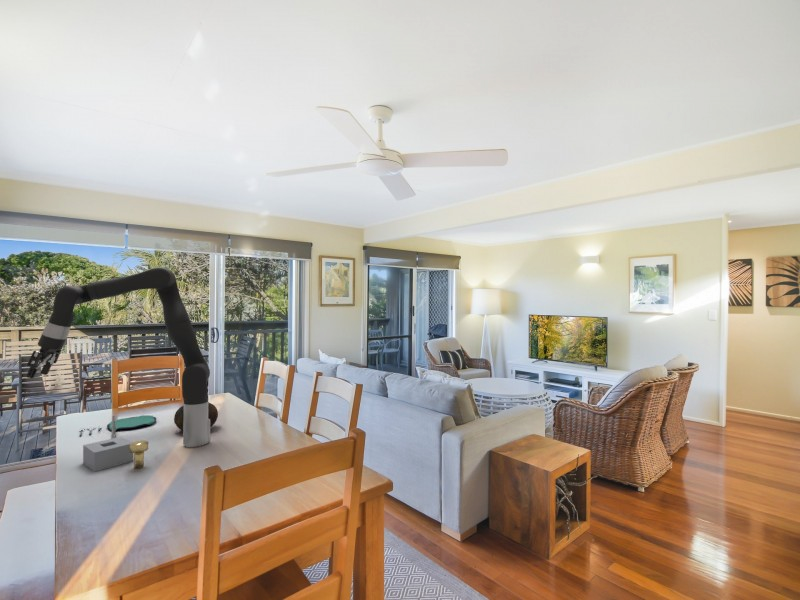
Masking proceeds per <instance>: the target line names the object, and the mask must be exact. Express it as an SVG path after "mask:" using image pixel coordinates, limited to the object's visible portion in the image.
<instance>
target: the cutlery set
mask: <svg viewBox="0 0 800 600" xmlns="http://www.w3.org/2000/svg"><path fill="white" fill-rule="evenodd" d="M114 421H115V432H116V431H117V430H126V429H127V430H128V429H133V428H140V427H144V426H150V425H153V424H154V423H155V422H156V421H157V417H156V416H153V415H144V414H142V415H138V416H131V417H126V418H125V417H124V418H119V419H114ZM106 428H108V429H109V430H110V431H111V430H112V421H110V422H109V423H108V424H107V425H106ZM83 429H84V428H83ZM84 430H85V431H86V428H85V429H84ZM98 430H101V431H102V428H99V427H98V429H97V431H98ZM82 432H84V431H83V430H81V431H80V433H79V437H80V436H83V433H82ZM92 432H93V430H91V431H90V430H89V433H88V435H89V436H90V434H93V433H92Z"/></svg>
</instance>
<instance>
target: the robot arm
mask: <svg viewBox="0 0 800 600" xmlns="http://www.w3.org/2000/svg"><path fill="white" fill-rule="evenodd" d="M153 289H154V290H156V292H157V294H158V297H159V298H160V301H161V304H162V311H163V320H164V321H163V322H164V326H165V328H166V331H167V333H168V337H169V338H170V340H171V342H172V343H173V345H174V346H175V347H176V349H177V350H178V351H179V352H180V355H181V356H182V360H183V362H184V367H185V369H184V370H183V371H182V375H181V396H182V399H183V405H184V419H183V431H182V432H183V433H182V441H183V442H182V443H183V444H182V446H183V445H184V446H183V447H185V446H186V447H185V448H198V447H202V446H204V444H205V445H207V444H208V442H209V443H211V428H210V419H208V402H209V394H208V388H207V387H208V386H207V384H208V383H207V382H208V380H209V378H210V375H211V370H210V367H209V365H208V363H207V362H206V360H205V357H204V356H203V354H202V351H201V349H200V345H199V342H198V338H197V336H196V332H195V330H194V329H195V328H194V327H193V324H192V320H191V319H190V315H189V314H188V311H187V309H186V307H185V304H184V302H183V300H182V297H181V294H180V291H179V287H178V283H177V277H176V276H175V273H174V272H173V271H172V270H171V269H169V268H166V267H163V266H155V267H152V268H150V269H147V270H144V271H141V272H138V273H134V274H131V275H127V276H126V275H125V276H122V277H120V276H119V277H114V278H107V279H102V280H97V281H92V282H90V283H88V284H85V285H84V284H83V285H78V286H74V285H73V286H72V285H66V286H63V287H61V288H59V289H58V291H57V292H56V295H55V297H54V302H53V308H52V309H53V310H52V312H51V314H50V316H49V319H48V321H47V323H46V324H45V327H44V328H43V331H42V333H41V335H40V337H39V340H38V342H37V345H38V346H39V348H40V349H39V350H33V351H32V353H31V355H30V358H29V359H28V361H27V365H26V367H29V369H28V371H27V374H26V378H28V379H34V378H35V377H36V375H37V372H38V371H39V368H40V366H42V365H43V366H42V368H41V370H40V375H44V376H45V375H46V376H47V375H48V374H49V372H50V369H51V367H53V366H54V364H56V363H58V360H59V357H60V355H61V352H62V350H63V348H64V345H65V343H66V341H67V338H68V337H69V334H70V330H71V327H72V324H73V323H74V320H75V317H76V313H75V312H74V309H75V306H76V305H81V304H84V303H85V304H86V303H89V302H92V301H97V300H102V299H107V298H112V297H116V296H120V295H124V294H126V293H130V292H135V291H140V290H153ZM206 443H207V444H206ZM201 445H202V446H201ZM197 446H198V447H197Z"/></svg>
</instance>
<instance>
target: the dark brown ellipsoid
mask: <svg viewBox="0 0 800 600" xmlns="http://www.w3.org/2000/svg"><path fill="white" fill-rule="evenodd" d="M218 417H219V411H218V409H217V407H216V406H215V405H214V404H213V403H211V402H210V401H208V419H210V429H211V428H212V427H213V426H214V425H215V424H216V422H217V421H218ZM183 419H184V404H183V405H181V406H180V407H179V408H178V409H177V410H176V411H175V414H174V416H173V421H174V424H175V426H176V428H178V430H180V431H182V432H183Z"/></svg>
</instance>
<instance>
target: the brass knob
mask: <svg viewBox="0 0 800 600" xmlns="http://www.w3.org/2000/svg"><path fill="white" fill-rule="evenodd" d="M148 450H149V440H138V441H137V440H136V441H132V443H131V444H130V453H133V469H135V470H138V469H142V468H144V467H145V452H146V451H148Z"/></svg>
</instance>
